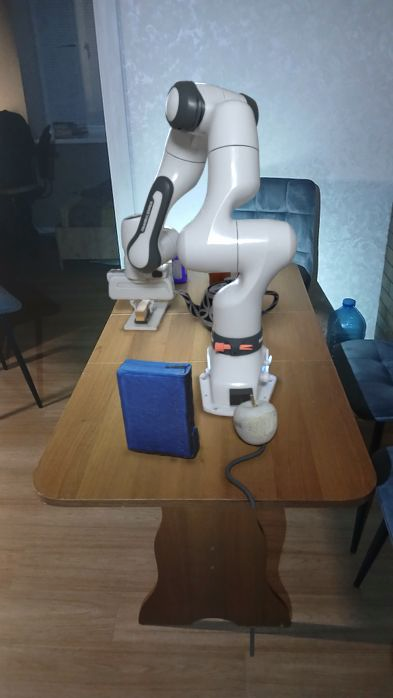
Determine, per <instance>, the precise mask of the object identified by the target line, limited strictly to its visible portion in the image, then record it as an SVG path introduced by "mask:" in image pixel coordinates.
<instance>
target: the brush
mask: <svg viewBox="0 0 393 698" xmlns="http://www.w3.org/2000/svg"><path fill="white" fill-rule="evenodd" d="M139 302H140V304H139V303H138V304H139V306H138V308H137V309H136V311H135V316H136V318H135V320H134V323H135V324H147V323H148V321H149V319H150V318H151V316H152V314H153V312H154V307H153V312H152V313H150V312H147V307H148V305H151V303H150V300H141V301H139Z"/></svg>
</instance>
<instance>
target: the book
mask: <svg viewBox="0 0 393 698" xmlns="http://www.w3.org/2000/svg"><path fill="white" fill-rule="evenodd" d="M115 375H116V382H117V389H118V393H119V395H118V396H119V400H120V407H121V413H122V420H123V426H124V435H125V442H126V446H127V447H126V448H127V449H128V450H129V451H133V452H137V453H143V454H149V455H150V454H151V455H160V456H169V457H177V458H178V457H179V458H183V459H193V458H195V457H196V456H197V455H198V453H199V450H200V433H199V427H198V426H196V425H195V406H194V405H195V404H194V389H193V366H192V364H191V363H190V362H167V361H153V360H144V359H143V360H142V359H134V358H125V360H124V361H123V362H122V363H121V364H120V365H119V367H118V369H117V370H116V372H115Z"/></svg>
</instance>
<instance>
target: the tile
mask: <svg viewBox="0 0 393 698" xmlns="http://www.w3.org/2000/svg"><path fill="white" fill-rule="evenodd" d="M140 302H141V301H139V302H138V303H137V305H139V304H140ZM151 303H152V302H151ZM153 307H154V312H153V314H152V316H151V318H150V319H149V321H148V323H147V324H135V323H134V320H135V318H136V316H135V310H133V312H132V313H131V315H130V316H129V318H128V320H127V321H126V323H125V325H124V326H123V329H124V331H157V330H158V328H159V326H160V324H161V322H162V320H163V317H164V316H165V313H166V311H167V310H168V307H169V301H167V302H164V301H163V302H159V301H157V302H156V301H155V302H154V304H153Z"/></svg>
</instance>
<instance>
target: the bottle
mask: <svg viewBox="0 0 393 698" xmlns="http://www.w3.org/2000/svg"><path fill="white" fill-rule="evenodd" d="M171 273H172V274H171V275H172V277H173V280H174V284H184V283H186V282H188V270H187V269H186V268H185V267H184V266H183V265H182V264H181V262H180V261H179V259H178V256H177V257H175V258H174V259H172V260H171Z"/></svg>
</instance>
